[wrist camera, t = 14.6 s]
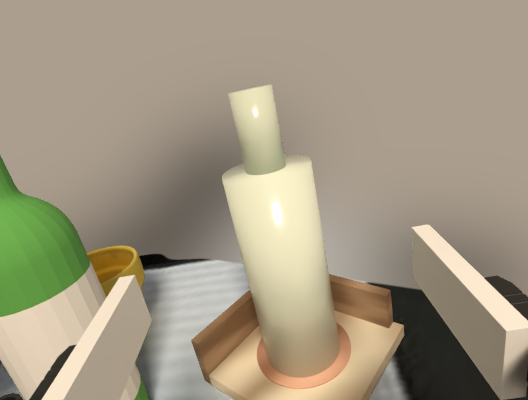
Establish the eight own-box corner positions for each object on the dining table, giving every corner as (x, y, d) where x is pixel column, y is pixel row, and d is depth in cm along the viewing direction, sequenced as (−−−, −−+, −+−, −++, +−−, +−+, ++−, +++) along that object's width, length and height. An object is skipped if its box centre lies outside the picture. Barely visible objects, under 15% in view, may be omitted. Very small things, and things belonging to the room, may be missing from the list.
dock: (205, 380, 34) (191, 340, 32) (289, 296, 43) (281, 262, 42) (332, 463, 25) (322, 414, 23) (404, 334, 34) (400, 292, 33)
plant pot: (173, 302, 47) (150, 238, 44) (142, 365, 38) (110, 289, 34) (103, 311, 49) (75, 250, 45) (56, 373, 39) (17, 301, 36)
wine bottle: (98, 493, 26) (-147, 75, 16) (44, 451, 30) (-179, 98, 20) (170, 404, 32) (28, 58, 22) (117, 380, 36) (-24, 78, 26)
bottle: (251, 358, 34) (182, 103, 25) (294, 313, 38) (247, 86, 30) (314, 390, 29) (253, 92, 21) (353, 335, 34) (317, 74, 25)
